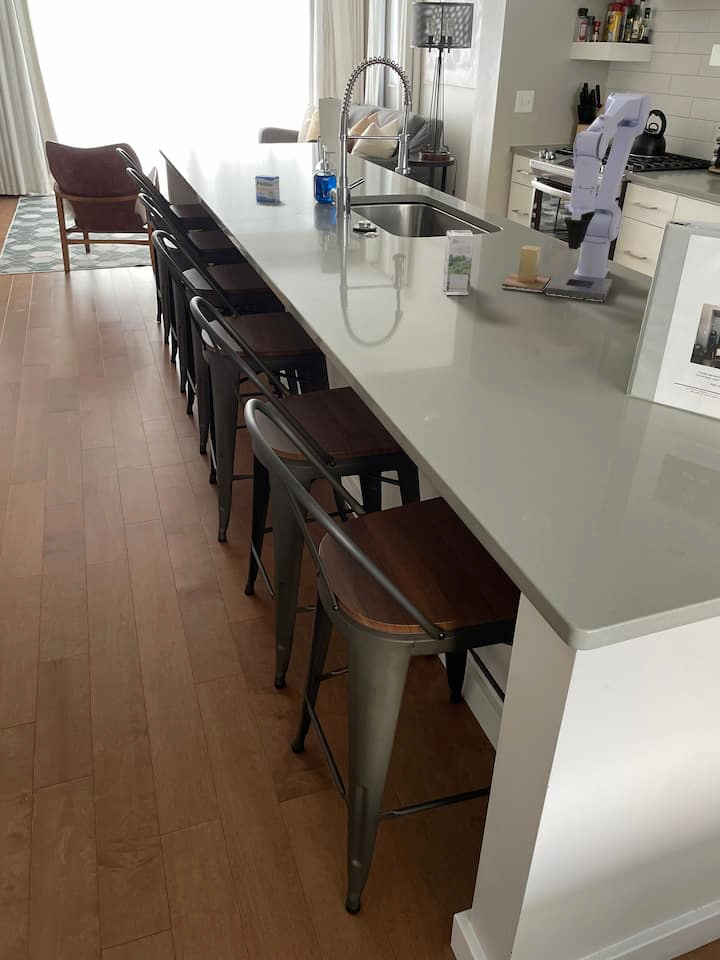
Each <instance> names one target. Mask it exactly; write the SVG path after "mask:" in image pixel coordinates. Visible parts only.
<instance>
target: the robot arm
mask: <svg viewBox="0 0 720 960" xmlns="http://www.w3.org/2000/svg"><path fill="white" fill-rule="evenodd" d="M604 106H605V107H604V114H601V113H600V115H599V116H597V117H596V119H595V120H593V122H592V123H591V124H590V125H589V126H588V128H587V129H586V130H582V131H581V132H579V133H577V134H576V136H575V138H574V142H573V145H572V150H573V151H572V152H573V160H572V161H573V162H572V164H573V166H574V168H573V177H572V182H571V183H572V184H571V191H570V196H569V197H570V198H569V204H568V203H565V204H564V207H563V208H564V209H567V210H569V212H570V215H571V217H569V216H568V217H567V216H566V217H564V224H565V226H566V230H567V231H566V232H567V240H568V242H567V243H568V249H570V250H579V249H580V250H579V257H578V262H577V268H576V269H575V270H574V273H573V275H577V276H586V277H596V278H604V279H606V277H607V275H608V272H609V270H610V269H609V268H607V263H608V257H609V251H610V245H611V242H612V241H614V240H615V239H616V238H617V237H618V236H619V232H620V229H621V222H622V218H623V213H622V210H621V208H620V206H619V205H617V203H616V199H617V196H618V192H619V189H620V186H621V183H622V179H623V176H624V173H625V169H626V166H627V164H628V163H627V162H628V161H629V157H630V155H631V154H630V153H631V151H632V147H633V145H634V142H635V140H636V138H637V137H639V136H640V135H642V134H643V133H644V130H645V129H646V125H647V122H648V119H649V117H650V112H651V106H652V99H651V96H650V94H649V93H644V94H641V93H639V94H638V93H621V92H611V93H610V94H609V95H608V97H607V99H606V101H605V105H604ZM612 139H613V141H612V144H611V147H610V151H609V155H608V158H607V161H606V164H605V167H604V171H603V173H602V178H601V180H600V185H599V187H598V181H599V176H600V169H601V163H602V159H604V157H605V155H606V152H607V149H608V147H609V143H610V141H611V140H612ZM597 188H598V191H597ZM579 247H580V248H579Z"/></svg>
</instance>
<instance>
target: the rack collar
mask: <svg viewBox="0 0 720 960" xmlns="http://www.w3.org/2000/svg"><path fill="white" fill-rule="evenodd" d="M569 285H570V286H569ZM612 285H613V279H612V278H595V277H586V276H577V275H574V274H568V273H567V274H566V273H558V272H557V273H555V274H554V276H553V277H551V281H550V283H549V284H548V285H547V287H546V289H545V290H544V291H545V292H544V294H545V293H548V294H555V295H562V296H569V297H576V298H583V299H594V300H602V301H606V300H605V298H606V299H607V297H608V295H609V293H610V291H611V289H612ZM610 288H611V289H610ZM609 290H610V291H609ZM608 292H609V293H608ZM607 294H608V295H607ZM606 296H607V297H606Z"/></svg>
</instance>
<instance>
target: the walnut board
mask: <svg viewBox="0 0 720 960" xmlns="http://www.w3.org/2000/svg"><path fill="white" fill-rule="evenodd" d="M518 275H519V272H515V271H513V272H512V273H511V274H510V275H509V276H508V277H506V279H505V281H503V282H502V283H501V284H502V285H501V287H502V286H505V287H516V288H524V289H531V290H539V291H543V289H544V288H545V287H546V285H547V284H548V283H549V281H550V280H552V278H553V277H552V276H550V275H543V274H538V275H537V280H536V281H535V282H534V283H529V282H521V281H518ZM543 292H544V291H543Z"/></svg>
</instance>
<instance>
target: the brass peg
mask: <svg viewBox="0 0 720 960" xmlns="http://www.w3.org/2000/svg"><path fill="white" fill-rule="evenodd" d="M540 256H541V246H535V245H534V246H533V245H527V244H526V245H523V247H521V249H520V257H519V266H518V273H519V275H518V281H521V282H529V283H534V282H535V281H536V280H537V275H539V274H538V273H539V264H540Z"/></svg>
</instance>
